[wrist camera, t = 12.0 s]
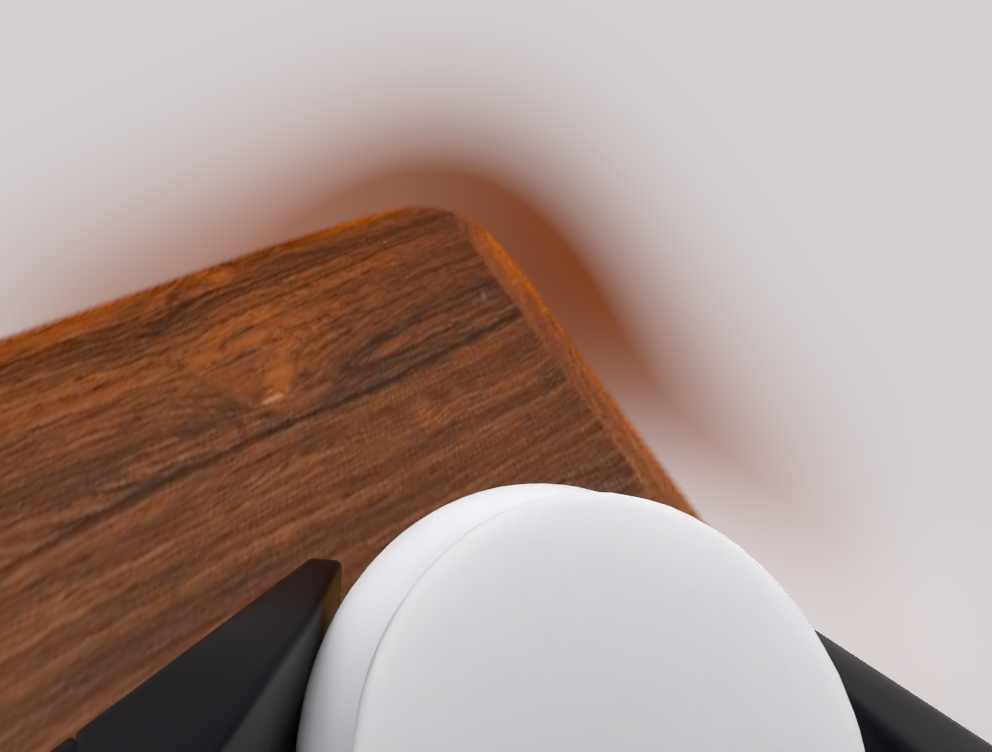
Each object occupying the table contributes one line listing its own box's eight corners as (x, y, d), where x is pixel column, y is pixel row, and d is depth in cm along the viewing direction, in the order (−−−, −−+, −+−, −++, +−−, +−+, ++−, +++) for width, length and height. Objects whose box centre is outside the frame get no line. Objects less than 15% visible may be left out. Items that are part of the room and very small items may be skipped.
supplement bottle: (548, 543, 15) (750, 346, 6) (639, 784, 13) (1179, 1054, 4) (335, 616, 14) (173, 502, 5) (394, 904, 11) (311, 1814, 2)
